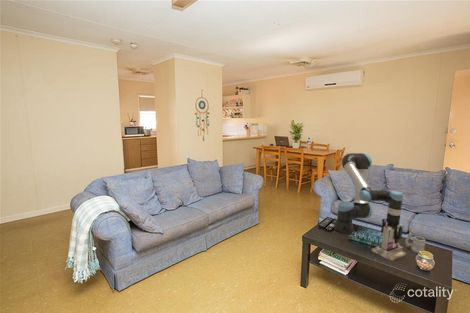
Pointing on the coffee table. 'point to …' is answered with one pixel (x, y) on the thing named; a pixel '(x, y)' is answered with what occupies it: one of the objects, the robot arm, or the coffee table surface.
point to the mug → (416, 243)
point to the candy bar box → (388, 238)
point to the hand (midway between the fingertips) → (389, 245)
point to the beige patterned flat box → (389, 252)
